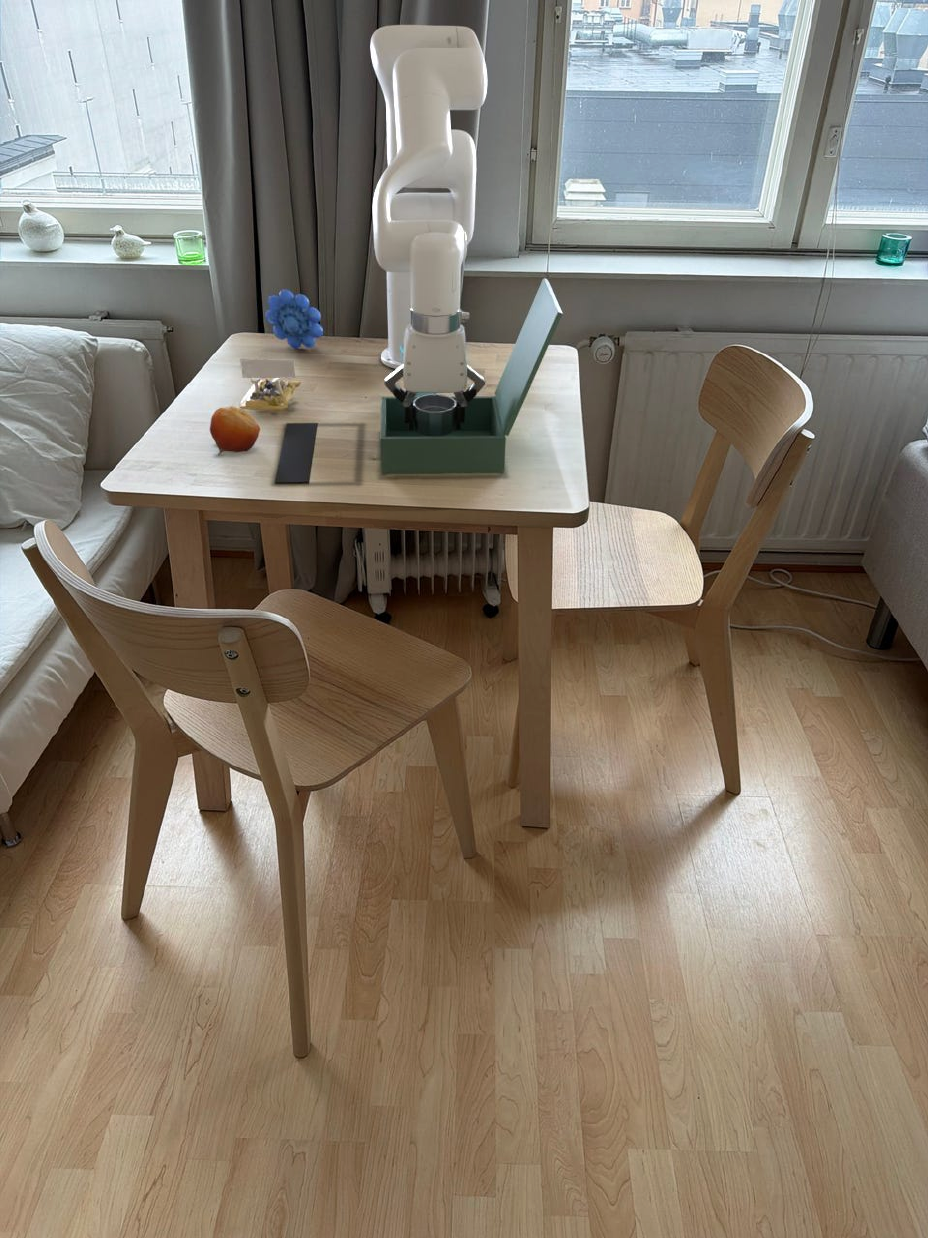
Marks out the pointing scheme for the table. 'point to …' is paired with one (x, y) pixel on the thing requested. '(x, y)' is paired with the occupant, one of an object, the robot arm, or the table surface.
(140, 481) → the table surface
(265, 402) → the cake
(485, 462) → the open green box
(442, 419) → the bowl
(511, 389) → the lid
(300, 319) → the blue flower
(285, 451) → the mat
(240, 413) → the fruit
